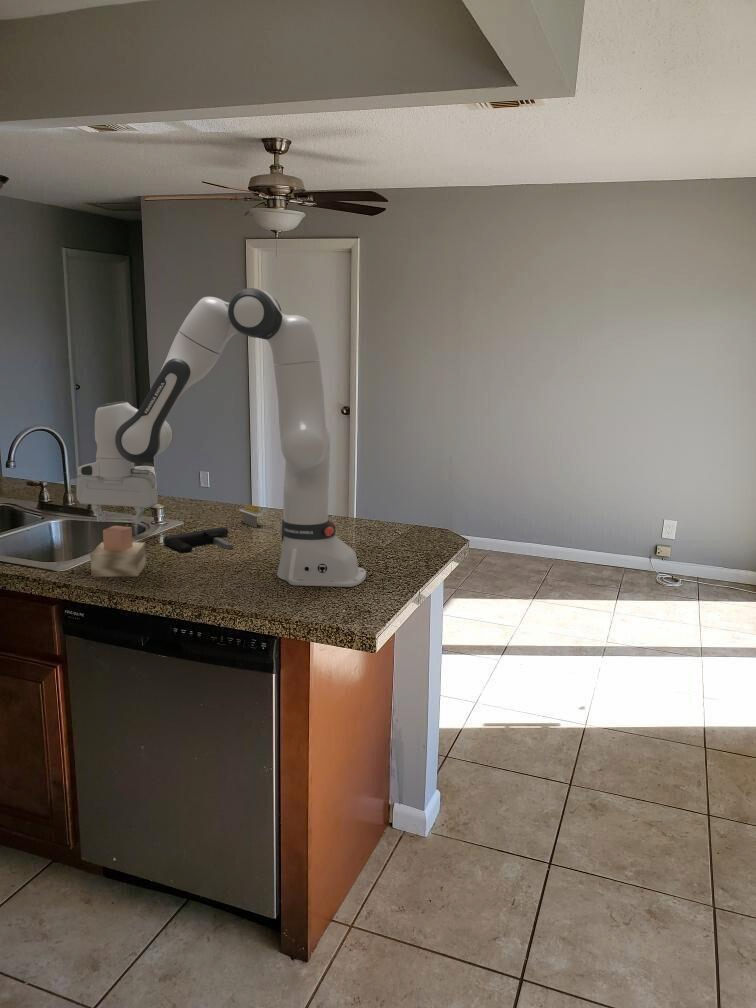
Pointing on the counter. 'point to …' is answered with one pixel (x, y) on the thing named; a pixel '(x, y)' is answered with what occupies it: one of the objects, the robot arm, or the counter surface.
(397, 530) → the counter surface
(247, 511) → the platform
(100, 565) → the birch box
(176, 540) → the black clamp
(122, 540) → the terracotta block
